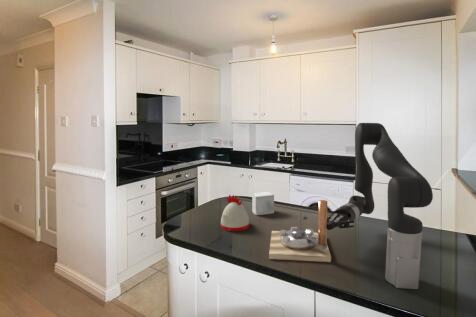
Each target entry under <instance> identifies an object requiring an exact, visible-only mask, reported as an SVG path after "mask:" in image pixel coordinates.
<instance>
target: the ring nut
mask: <svg viewBox="0 0 476 317" xmlns="http://www.w3.org/2000/svg"><path fill="white" fill-rule="evenodd" d="M327 215H328V200H326V199H320V200H319V199H318V220H317V223H318V224H317V228H318V229H317V233H318V235H315V234H313V233H314V230H313V229H312V228H305V229H304V230H303V229H299V228H298V226H291V227H290V229H289V230H286V229H280V230H279V231H280V235H281V244H282V245H283V246H285V247H287V248H290V249H296V250H306V249H311V248H313V247H315V246H317V247H320V248H322V249H326V248H327V245H328V243H327V238H328V236H327V235H328V230H327ZM317 237H318V240H317Z"/></svg>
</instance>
